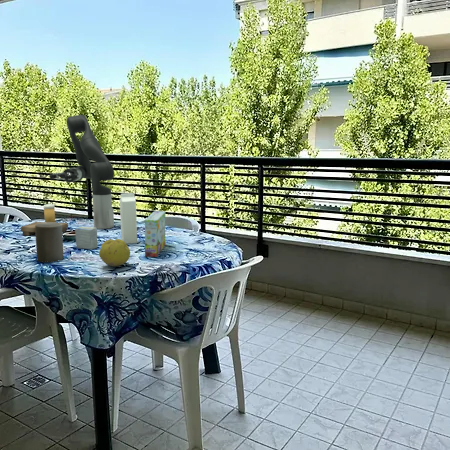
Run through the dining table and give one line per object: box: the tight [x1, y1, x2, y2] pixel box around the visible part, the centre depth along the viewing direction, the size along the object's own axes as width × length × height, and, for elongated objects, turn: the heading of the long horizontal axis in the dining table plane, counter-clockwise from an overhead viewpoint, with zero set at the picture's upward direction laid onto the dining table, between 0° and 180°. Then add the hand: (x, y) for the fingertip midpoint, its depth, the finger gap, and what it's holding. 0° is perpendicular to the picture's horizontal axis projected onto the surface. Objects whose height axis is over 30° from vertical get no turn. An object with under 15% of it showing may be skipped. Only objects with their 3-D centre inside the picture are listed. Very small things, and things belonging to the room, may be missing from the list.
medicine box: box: [74, 226, 99, 250], centre depth 192 cm, size 8×4×9 cm, turn 71°
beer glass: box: [43, 203, 56, 223], centre depth 233 cm, size 5×5×12 cm
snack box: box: [144, 210, 166, 258], centre depth 188 cm, size 21×6×15 cm, turn 179°
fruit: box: [98, 238, 131, 267], centre depth 166 cm, size 11×12×10 cm
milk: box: [119, 192, 138, 245], centre depth 201 cm, size 6×6×22 cm
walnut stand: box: [20, 221, 69, 236], centre depth 219 cm, size 17×13×4 cm
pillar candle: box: [34, 221, 64, 263], centre depth 174 cm, size 10×10×15 cm
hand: (58, 177), depth 240 cm, fingers open, 8 cm apart
